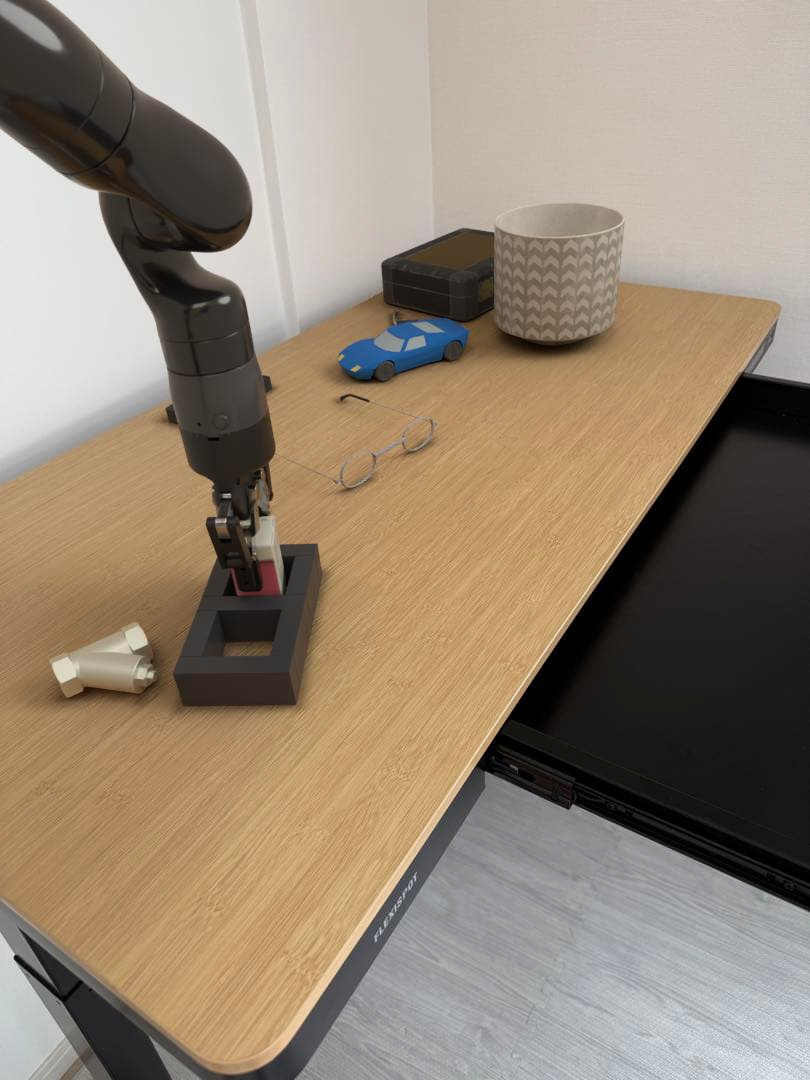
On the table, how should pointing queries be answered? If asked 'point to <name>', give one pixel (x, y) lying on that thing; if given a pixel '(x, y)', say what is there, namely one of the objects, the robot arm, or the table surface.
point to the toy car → (404, 348)
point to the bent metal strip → (401, 320)
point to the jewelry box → (444, 275)
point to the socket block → (251, 637)
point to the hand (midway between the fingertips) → (257, 568)
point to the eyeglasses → (379, 451)
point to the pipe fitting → (108, 664)
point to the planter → (557, 271)
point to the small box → (267, 559)
